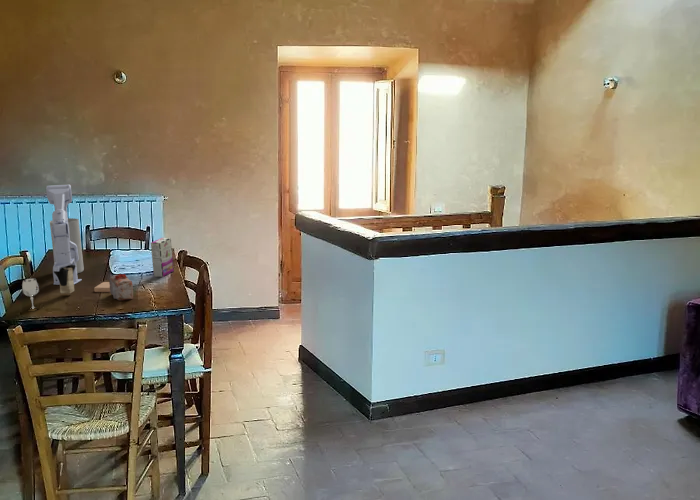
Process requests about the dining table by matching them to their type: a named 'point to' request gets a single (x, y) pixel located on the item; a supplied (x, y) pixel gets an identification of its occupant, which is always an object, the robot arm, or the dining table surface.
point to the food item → (121, 287)
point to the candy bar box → (162, 257)
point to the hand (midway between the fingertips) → (66, 284)
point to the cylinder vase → (73, 240)
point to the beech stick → (68, 282)
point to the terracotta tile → (103, 287)
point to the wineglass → (30, 288)
